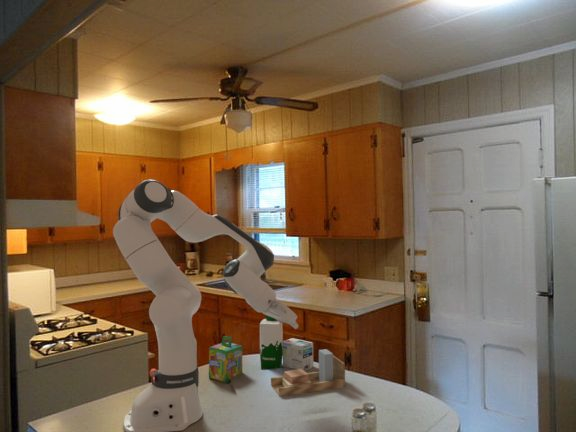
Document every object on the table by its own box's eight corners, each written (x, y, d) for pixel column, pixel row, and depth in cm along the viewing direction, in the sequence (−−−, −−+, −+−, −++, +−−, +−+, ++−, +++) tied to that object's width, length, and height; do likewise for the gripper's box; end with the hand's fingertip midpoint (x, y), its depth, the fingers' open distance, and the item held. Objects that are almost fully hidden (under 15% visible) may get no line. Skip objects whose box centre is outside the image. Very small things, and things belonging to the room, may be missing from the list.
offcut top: (291, 384, 144) (291, 377, 144) (284, 378, 150) (283, 371, 150) (308, 381, 147) (308, 374, 147) (300, 375, 152) (300, 368, 152)
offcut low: (288, 393, 143) (288, 385, 143) (282, 385, 150) (282, 378, 150) (311, 389, 146) (311, 382, 146) (304, 382, 152) (304, 375, 152)
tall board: (325, 386, 148) (324, 354, 148) (319, 381, 153) (318, 349, 153) (333, 385, 149) (332, 353, 149) (326, 380, 154) (326, 349, 154)
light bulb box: (314, 369, 168) (313, 341, 168) (303, 374, 163) (303, 346, 163) (293, 363, 175) (292, 337, 175) (281, 368, 170) (281, 340, 170)
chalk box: (208, 378, 160) (207, 338, 160) (225, 371, 168) (224, 332, 168) (226, 383, 155) (226, 342, 155) (243, 375, 163) (243, 336, 163)
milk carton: (284, 363, 176) (283, 313, 176) (280, 371, 167) (279, 319, 167) (263, 362, 177) (262, 313, 177) (258, 370, 168) (257, 318, 168)
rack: (279, 400, 141) (279, 371, 141) (270, 388, 150) (270, 361, 150) (345, 390, 148) (344, 363, 148) (333, 379, 158) (332, 354, 158)
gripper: (283, 295, 135) (311, 322, 140) (255, 287, 153) (281, 311, 158) (271, 311, 133) (299, 338, 138) (244, 301, 151) (270, 325, 156)
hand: (289, 324), depth 148 cm, fingers open, 8 cm apart
